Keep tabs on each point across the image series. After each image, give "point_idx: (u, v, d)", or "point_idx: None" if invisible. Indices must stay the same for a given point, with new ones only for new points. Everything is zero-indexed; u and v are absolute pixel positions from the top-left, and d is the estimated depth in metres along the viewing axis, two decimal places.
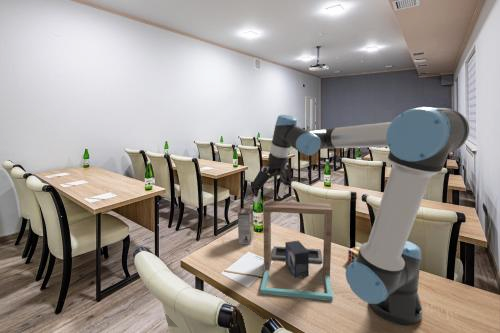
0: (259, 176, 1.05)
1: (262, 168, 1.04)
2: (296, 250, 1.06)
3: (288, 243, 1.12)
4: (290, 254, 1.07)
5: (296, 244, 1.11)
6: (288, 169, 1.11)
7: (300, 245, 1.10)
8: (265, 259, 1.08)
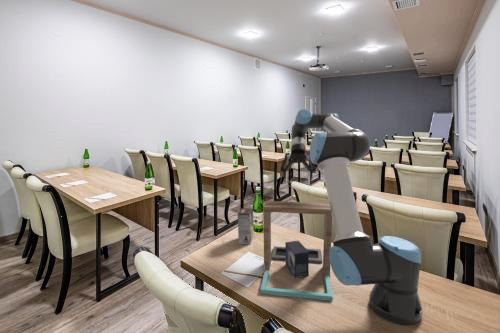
0: None
1: None
2: (296, 250, 1.06)
3: (288, 243, 1.12)
4: (290, 254, 1.07)
5: (296, 244, 1.11)
6: (310, 157, 1.34)
7: (300, 245, 1.10)
8: (265, 259, 1.08)
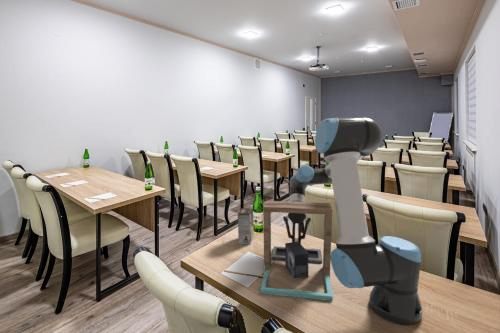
0: (286, 225, 1.23)
1: (283, 219, 1.26)
2: (296, 251, 1.05)
3: (288, 244, 1.11)
4: (290, 255, 1.06)
5: (296, 245, 1.10)
6: (307, 221, 1.22)
7: (300, 246, 1.09)
8: (265, 259, 1.08)
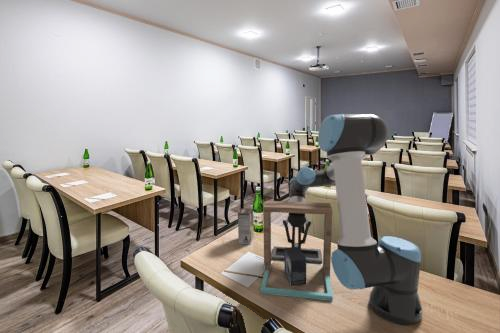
0: (285, 229, 1.19)
1: (283, 223, 1.21)
2: (293, 257, 1.01)
3: (287, 249, 1.07)
4: (287, 260, 1.02)
5: (295, 250, 1.05)
6: (307, 225, 1.18)
7: (299, 252, 1.04)
8: (265, 259, 1.08)
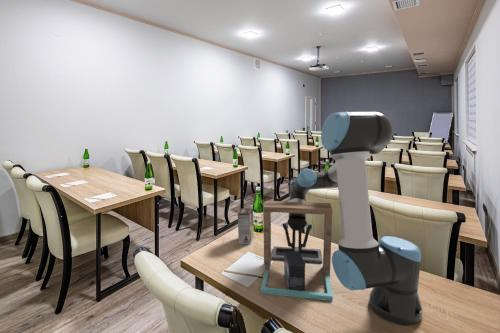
0: None
1: (283, 226, 1.18)
2: (292, 261, 0.97)
3: (286, 253, 1.04)
4: (286, 265, 0.99)
5: (295, 255, 1.02)
6: (308, 228, 1.14)
7: (298, 256, 1.01)
8: (265, 259, 1.08)
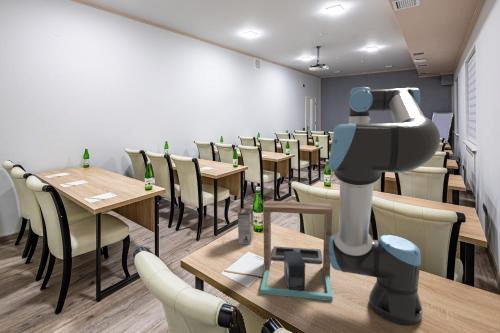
0: None
1: None
2: (292, 262, 0.97)
3: (286, 253, 1.04)
4: (286, 265, 0.99)
5: (295, 255, 1.02)
6: None
7: (298, 256, 1.01)
8: (265, 259, 1.08)
